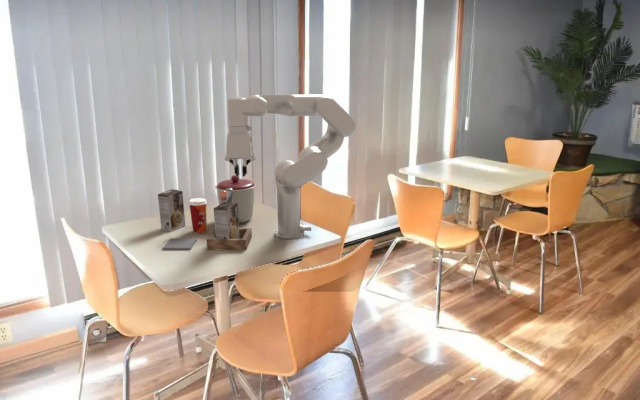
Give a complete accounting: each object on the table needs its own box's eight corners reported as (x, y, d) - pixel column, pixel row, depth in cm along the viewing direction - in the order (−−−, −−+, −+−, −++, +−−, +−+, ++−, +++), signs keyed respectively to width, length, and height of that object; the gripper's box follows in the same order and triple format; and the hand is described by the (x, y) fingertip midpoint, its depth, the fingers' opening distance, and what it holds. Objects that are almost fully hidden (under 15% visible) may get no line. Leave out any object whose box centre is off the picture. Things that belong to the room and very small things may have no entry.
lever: (226, 192, 236) (226, 182, 234) (234, 192, 236) (233, 182, 234) (219, 203, 221) (218, 192, 220) (227, 203, 221) (226, 192, 220)
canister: (265, 219, 260) (263, 174, 254) (235, 229, 247) (232, 182, 241) (239, 212, 272) (237, 168, 266) (209, 221, 259) (206, 176, 253)
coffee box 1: (174, 223, 256) (171, 188, 251) (185, 225, 253) (183, 190, 249) (160, 229, 248) (157, 193, 244) (171, 231, 245) (168, 195, 241)
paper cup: (204, 234, 241) (202, 202, 237) (187, 233, 242) (185, 202, 239) (211, 228, 248) (209, 197, 244) (195, 227, 250) (193, 197, 246)
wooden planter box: (253, 234, 241) (251, 193, 236) (246, 249, 223) (244, 205, 218) (216, 234, 241) (213, 193, 236) (207, 249, 224) (204, 205, 219)
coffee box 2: (225, 238, 236) (223, 201, 231) (240, 240, 234) (238, 202, 229) (215, 246, 227) (213, 207, 223) (230, 247, 225) (228, 209, 221)
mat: (197, 240, 234) (196, 238, 234) (190, 249, 224) (190, 247, 223) (170, 240, 235) (170, 238, 234) (162, 249, 224) (162, 247, 224)
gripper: (260, 128, 226) (261, 173, 231) (220, 128, 226) (223, 173, 231) (257, 131, 218) (259, 177, 223) (216, 131, 219) (219, 178, 224)
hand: (240, 175), depth 227 cm, fingers closed
